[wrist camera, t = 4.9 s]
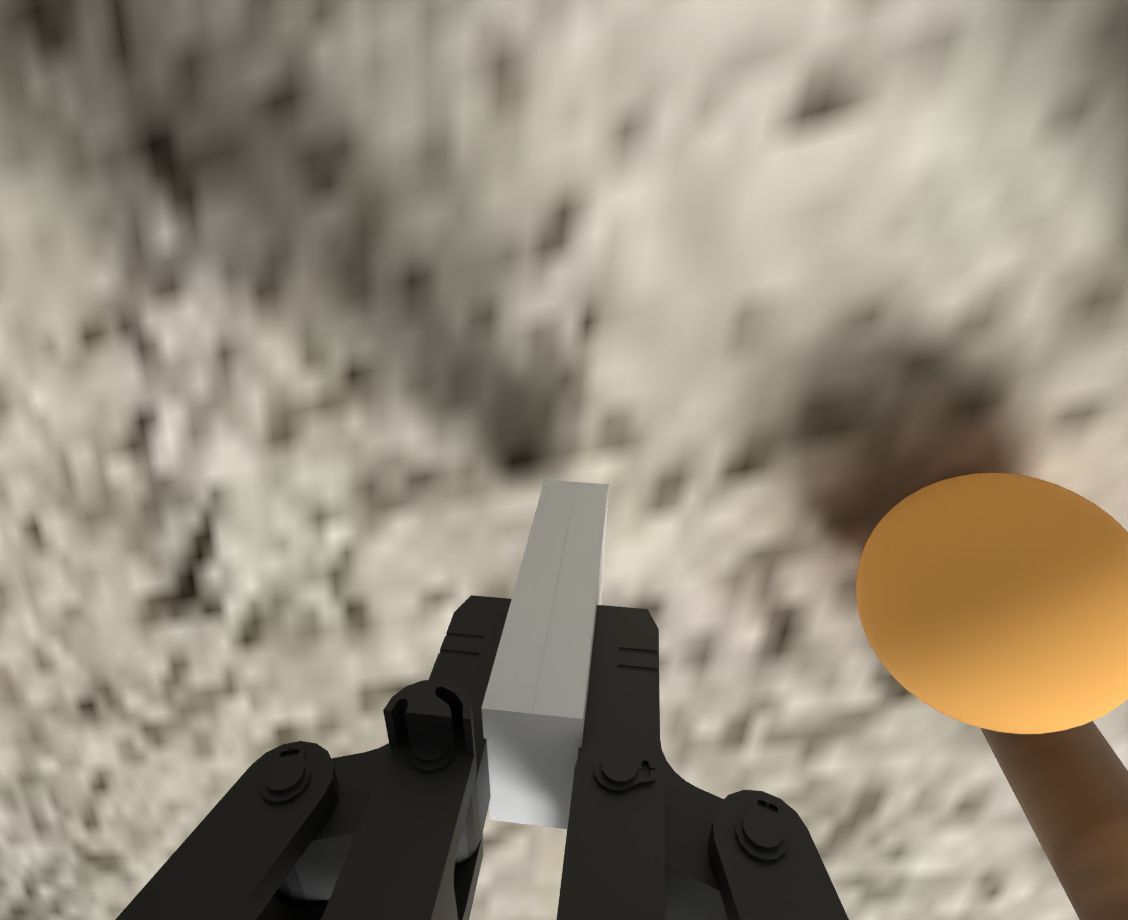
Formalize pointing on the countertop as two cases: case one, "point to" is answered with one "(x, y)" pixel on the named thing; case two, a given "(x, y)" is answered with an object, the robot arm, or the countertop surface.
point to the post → (1074, 811)
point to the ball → (1000, 602)
